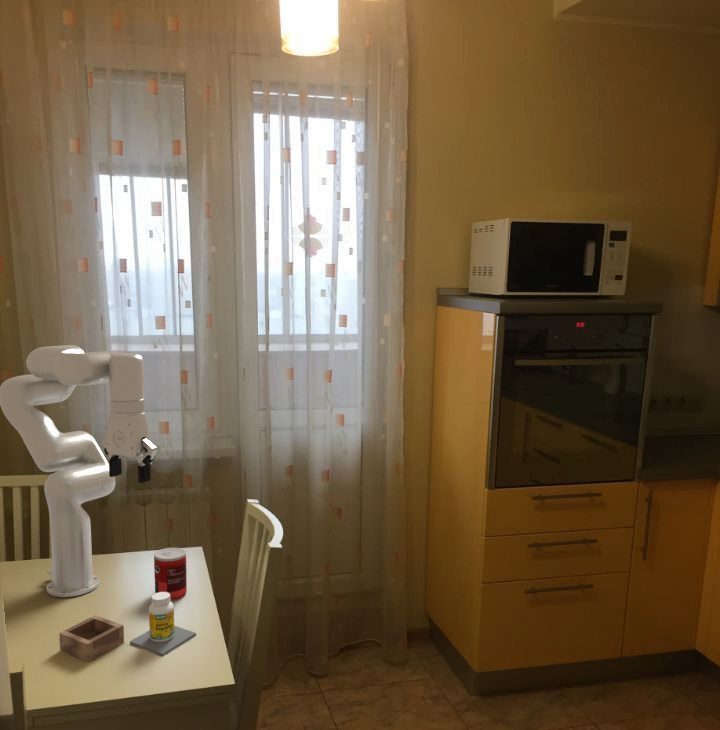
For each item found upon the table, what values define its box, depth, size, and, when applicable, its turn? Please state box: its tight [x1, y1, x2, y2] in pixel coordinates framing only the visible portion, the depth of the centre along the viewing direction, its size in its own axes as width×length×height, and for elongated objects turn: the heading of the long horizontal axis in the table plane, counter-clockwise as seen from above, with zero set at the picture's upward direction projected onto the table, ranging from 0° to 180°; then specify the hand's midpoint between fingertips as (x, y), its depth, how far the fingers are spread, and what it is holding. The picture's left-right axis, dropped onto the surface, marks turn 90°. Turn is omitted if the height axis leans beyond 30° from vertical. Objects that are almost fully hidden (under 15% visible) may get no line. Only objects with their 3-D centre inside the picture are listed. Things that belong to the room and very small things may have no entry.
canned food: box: [153, 547, 188, 601], centre depth 168 cm, size 8×8×11 cm
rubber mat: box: [129, 625, 197, 657], centre depth 147 cm, size 10×10×1 cm
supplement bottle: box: [148, 592, 176, 642], centre depth 146 cm, size 5×5×10 cm
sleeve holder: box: [58, 614, 125, 663], centre depth 143 cm, size 9×9×4 cm
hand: (129, 478), depth 155 cm, fingers open, 9 cm apart
